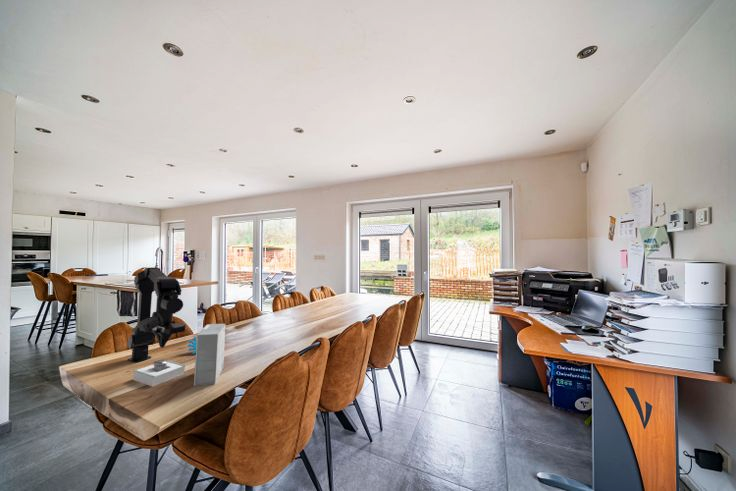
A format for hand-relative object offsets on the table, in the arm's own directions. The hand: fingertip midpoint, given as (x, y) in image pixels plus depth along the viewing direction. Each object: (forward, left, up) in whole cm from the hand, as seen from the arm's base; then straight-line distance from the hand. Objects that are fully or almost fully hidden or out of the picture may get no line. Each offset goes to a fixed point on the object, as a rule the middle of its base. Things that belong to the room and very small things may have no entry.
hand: (162, 347), depth 109 cm
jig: (0, 0, -12) cm, 12 cm away
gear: (-11, +25, -12) cm, 30 cm away
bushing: (0, 0, -12) cm, 12 cm away
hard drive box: (+17, +9, -12) cm, 23 cm away
